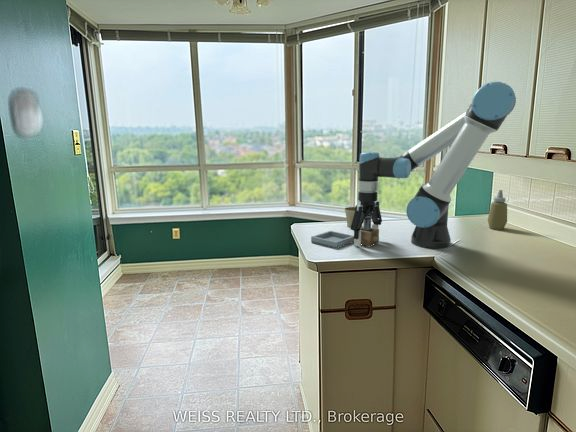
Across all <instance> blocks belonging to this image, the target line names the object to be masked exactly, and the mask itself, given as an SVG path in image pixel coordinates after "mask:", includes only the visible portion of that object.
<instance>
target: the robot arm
mask: <svg viewBox="0 0 576 432" xmlns="http://www.w3.org/2000/svg"><path fill="white" fill-rule="evenodd" d="M515 94H516V93H515V92H514V89H513V88H512V87H511V86H510V85H509V84H507V83H506V82H501V81H491V82H488V83H485V84H483V85H482V86H480V88H478V89H477V90H476V92H475V93H474V94H473V97H472V99H471V103H470V105H469V106H468V107H467V109H466V111H464V112H463V113H462V114H460V115H458V116H457V117H456V118H455V119H453V120H452V121H450V122H449V123H446V124H445V125H443V127H441V128H439V129H438V130H436V131H435V132H434V133H432V134H430V135H429V136H428V137H426V138H425V139H423V140H422V141H420V142H419V143H418V144H416V145H414V146H413V147H412V148H410V149H409V150H408V151H406V152H404V153H403V154H401V155H399V156H396V157H381V156H380V153H379V152H376V151H363V152H361V153H360V154H359V162H358V165H359V166H358V190H359V191H358V197H357V200H358V201H359V202H360V204H359V205H357V204H356V205H355V206H354V207H355V213H354V217H353V221H352V224H351V227H350V231H353V236H354V242H353V246H354V247H357V246H358V248H361V247H362V245H361V231H360V229H361V227H363V223H364V219H365V217H366V216H367V215H368V214H370V215H372V218H371V228H375V229H379V225H380V226H381V225H382V222H383V220H382V219H383V218H382V213H381V209H380V201H378V190H379V178H392V179H408V178H409V176H410V175H411V173H412V171H414V170H415V169H418V167H420V166H421V165H422V164H424V163H426V162H427V161H429V160H430V159H432V158H433V157H435V156H436V155H438V154H440V153H441V152H443V151H444V150H447V149H448V150H447V152H446V153H445V155H444V157H442V159H441V161H440V163H439V164H438V166H437V168H436V169H435V171H434V173H433V174H432V176H431V178H430V179H429V181H428V182H427V183H422V184H421V185H420V187H419V189H418V191H417V192H416V194H415V195H414V196H413V198H412V199H411V200H409V202H408V204H407V206H406V216H407V218H408V221H410V223H411V224H412V225H415V228H414V230H413V231H412V234H411V239H410V242H411V243H412V244H413V245H416V246H418V247H423V248H427V247H428V248H429V249H445V248H448V247H450V246H451V241H452V240H451V239H452V238H451V235H450V231H449V228H448V219H449V218H448V217H449V207H450V203H451V201H452V197H451V193H452V192H453V190H454V189H455V187H456V186H457V184H458V183H459V181H460V179H461V178H462V177H463V175H464V174H465V172H466V171H467V169H468V167H469V166H470V165H471V163H472V161H473V160H474V159H475V157H476V155H477V154H478V152H479V150H480V149H481V148H482V147H483V145H484V143H485V142H486V140H487V138H488V137H489V135H490V134H492V133H495V132H498V130H499V129H500V127H502V125H503V123H504V121H505V120H506V118H507V117H508V116H509V115H510V114H511V113H512V112H513V111H514V108H515V106H516V102H517V101H516V100H517V97H516V95H515ZM360 246H361V247H360Z"/></svg>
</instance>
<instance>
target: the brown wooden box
mask: <svg viewBox="0 0 576 432" xmlns="http://www.w3.org/2000/svg"><path fill="white" fill-rule="evenodd" d="M360 231H361V244H362V245H366V246H365V247H367V246H371V245H373V244H376V243H378V242H379V241H380V236H379V235H380V229H379V228H378V229H375V228H372V227H371V231H364V230H363V226H361V229H360ZM378 244H379V243H378ZM362 245H361V246H362ZM376 245H377V244H376ZM373 246H374V245H373ZM371 247H372V246H371Z"/></svg>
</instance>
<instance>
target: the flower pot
mask: <svg viewBox="0 0 576 432" xmlns="http://www.w3.org/2000/svg"><path fill="white" fill-rule="evenodd" d="M343 210H344V212H345V218H346V225H347V227H349V228H351V224H352V221H353V217H354V213H355V206H348V207H344V208H343Z"/></svg>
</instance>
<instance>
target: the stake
mask: <svg viewBox="0 0 576 432" xmlns="http://www.w3.org/2000/svg"><path fill="white" fill-rule="evenodd" d="M371 218H372V215H370V214H368V215H367V216H366V217H365V219H364V221H363V224H362V227H363V230H364V231H371V228H372V219H371Z"/></svg>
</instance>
